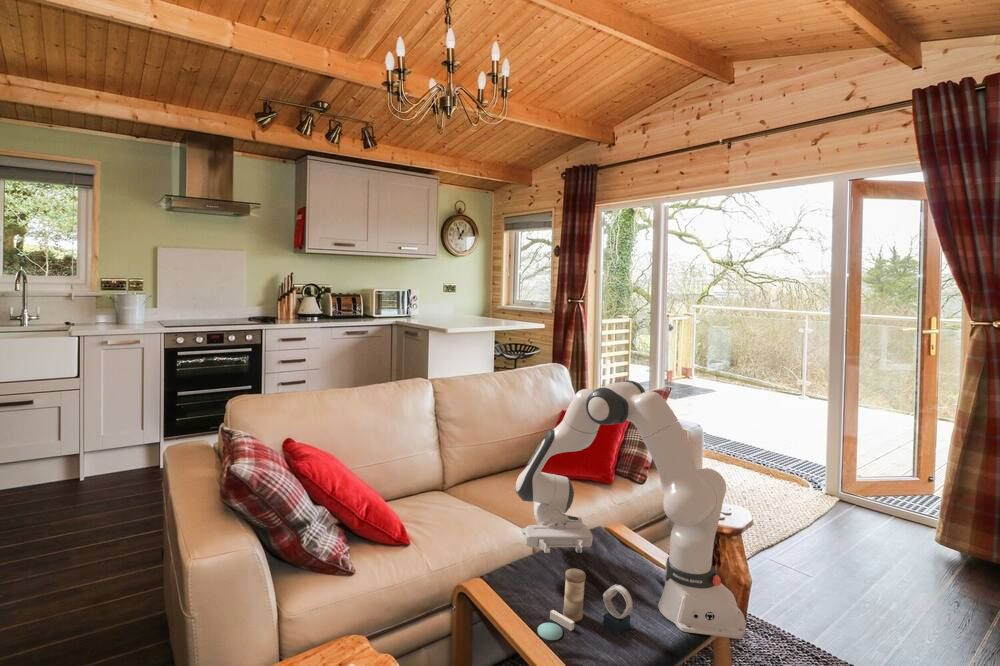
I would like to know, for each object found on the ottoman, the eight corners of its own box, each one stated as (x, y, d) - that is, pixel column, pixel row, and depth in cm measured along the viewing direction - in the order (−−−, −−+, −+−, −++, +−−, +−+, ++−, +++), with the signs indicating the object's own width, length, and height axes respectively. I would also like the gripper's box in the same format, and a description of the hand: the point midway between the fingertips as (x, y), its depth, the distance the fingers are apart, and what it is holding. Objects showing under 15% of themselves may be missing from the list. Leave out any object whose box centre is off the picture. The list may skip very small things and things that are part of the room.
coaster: (565, 627, 147) (565, 626, 147) (559, 643, 141) (559, 641, 141) (541, 621, 149) (541, 620, 149) (534, 636, 143) (534, 635, 143)
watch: (611, 614, 154) (613, 576, 152) (635, 630, 148) (638, 591, 146) (597, 622, 150) (599, 583, 149) (621, 638, 144) (624, 598, 143)
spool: (584, 612, 154) (587, 571, 153) (580, 624, 149) (583, 581, 148) (565, 607, 156) (567, 566, 154) (560, 619, 151) (563, 576, 149)
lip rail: (549, 618, 151) (550, 611, 151) (552, 616, 152) (552, 609, 152) (571, 631, 146) (571, 623, 146) (573, 628, 147) (574, 621, 147)
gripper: (521, 517, 175) (528, 540, 162) (585, 517, 178) (598, 540, 164) (520, 536, 176) (527, 560, 162) (584, 536, 179) (596, 560, 165)
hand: (563, 550), depth 163 cm, fingers open, 8 cm apart
